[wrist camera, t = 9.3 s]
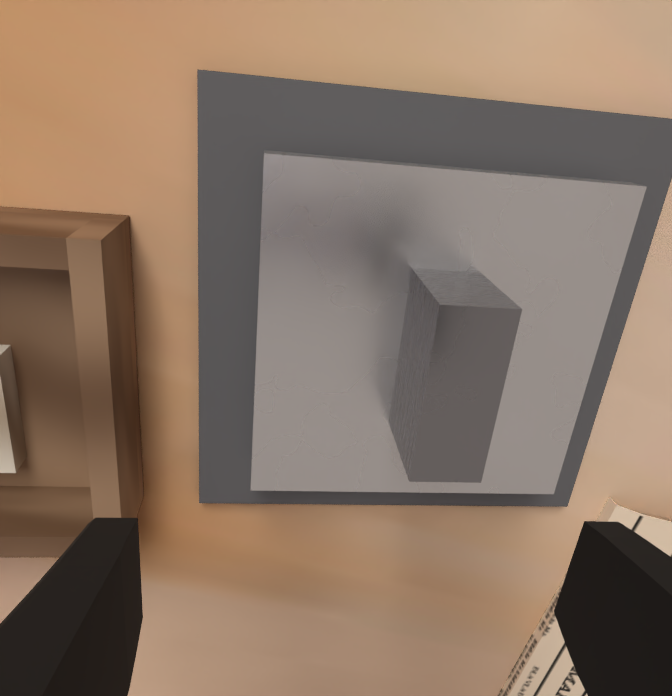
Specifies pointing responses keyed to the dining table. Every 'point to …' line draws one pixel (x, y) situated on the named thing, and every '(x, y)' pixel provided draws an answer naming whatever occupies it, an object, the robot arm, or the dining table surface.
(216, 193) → the dark gray board
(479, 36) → the dining table surface
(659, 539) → the newspaper
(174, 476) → the dining table surface
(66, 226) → the walnut box
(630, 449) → the dining table surface
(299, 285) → the lid
